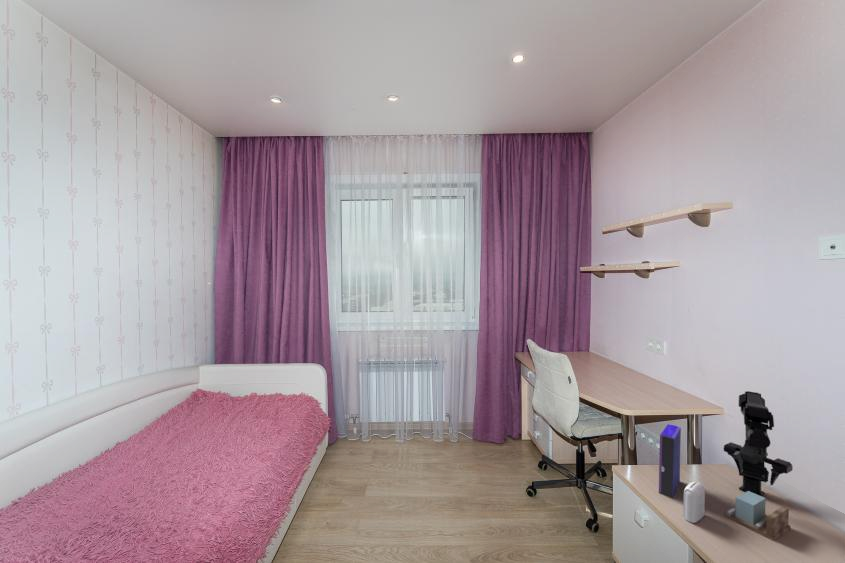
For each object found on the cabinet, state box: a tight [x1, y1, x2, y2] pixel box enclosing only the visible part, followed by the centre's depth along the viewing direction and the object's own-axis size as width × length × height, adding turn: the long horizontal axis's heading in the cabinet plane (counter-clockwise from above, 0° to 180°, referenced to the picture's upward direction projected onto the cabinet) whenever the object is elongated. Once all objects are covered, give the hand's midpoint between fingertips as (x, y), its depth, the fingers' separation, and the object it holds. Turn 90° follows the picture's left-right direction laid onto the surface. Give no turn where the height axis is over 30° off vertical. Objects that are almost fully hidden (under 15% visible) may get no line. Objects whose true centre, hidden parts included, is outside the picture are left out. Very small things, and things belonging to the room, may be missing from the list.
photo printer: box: [682, 481, 706, 524], centre depth 129 cm, size 10×4×12 cm, turn 123°
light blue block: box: [735, 491, 767, 525], centre depth 128 cm, size 10×5×7 cm, turn 117°
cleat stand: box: [722, 505, 791, 541], centre depth 127 cm, size 14×14×7 cm
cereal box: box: [658, 424, 682, 499], centre depth 148 cm, size 17×5×24 cm, turn 136°
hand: (755, 478), depth 135 cm, fingers open, 9 cm apart
